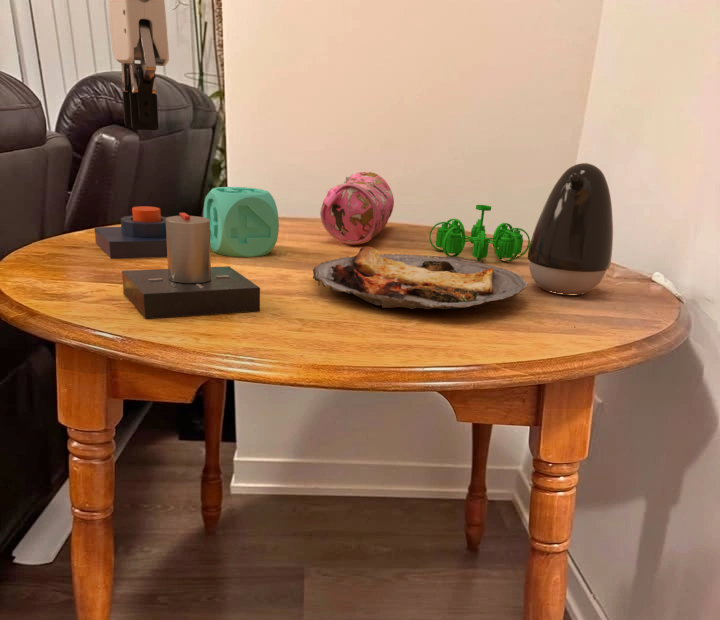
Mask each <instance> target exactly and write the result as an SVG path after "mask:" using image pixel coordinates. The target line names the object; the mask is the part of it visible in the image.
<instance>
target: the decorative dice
mask: <svg viewBox="0 0 720 620" xmlns="http://www.w3.org/2000/svg"><path fill="white" fill-rule="evenodd" d="M202 215H203V216H202V217H204V218H207V219H209V220H210V251H211V252H213V253H215V254H217V255H221V256H224V257H233V258H258V257H264V256H267V255H268V254H269V253H270V252H271V251H272V250H273V249H274V248H275V247H276V244H277V241H278V237H279V229H280V224H279V223H280V222H279V220H280V219H279V212H278V207H277V203H276V201H275V199H274V196H273V195H272V193H270V191H269V190H266V189H263V188H256V187H255V188H254V187H247V186H246V187H245V186H243V187H242V186H220V187H219V186H218V187H213V188H212V189H211V190H210V191H209V192H208V193H207V194H206V196H205V199H204V203H203V214H202Z"/></svg>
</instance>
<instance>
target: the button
mask: <svg viewBox="0 0 720 620" xmlns="http://www.w3.org/2000/svg"><path fill="white" fill-rule="evenodd" d="M131 211H132V216H133V221H138V222H159V221H161V216H162V215H161V214H162V213H161V208H160V207H156V206H147V205H145V206H143V205H142V206H141V205H140V206H138V205H137V206H133V207H132V208H131Z"/></svg>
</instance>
